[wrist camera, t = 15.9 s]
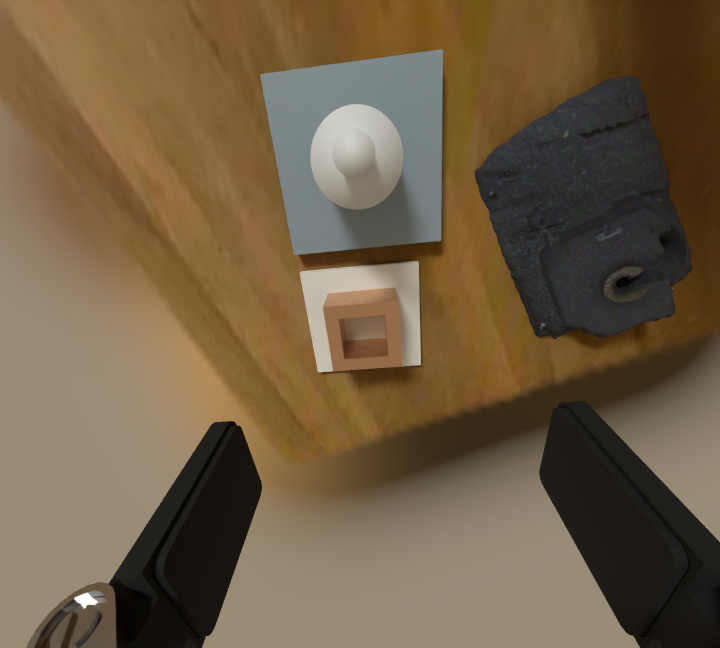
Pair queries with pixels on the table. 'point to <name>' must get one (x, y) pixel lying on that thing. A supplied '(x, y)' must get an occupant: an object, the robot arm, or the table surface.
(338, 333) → the copper link
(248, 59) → the table surface
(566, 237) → the dark pouch with grommet
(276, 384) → the table surface
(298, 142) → the post stand
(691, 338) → the table surface
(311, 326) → the white mat
